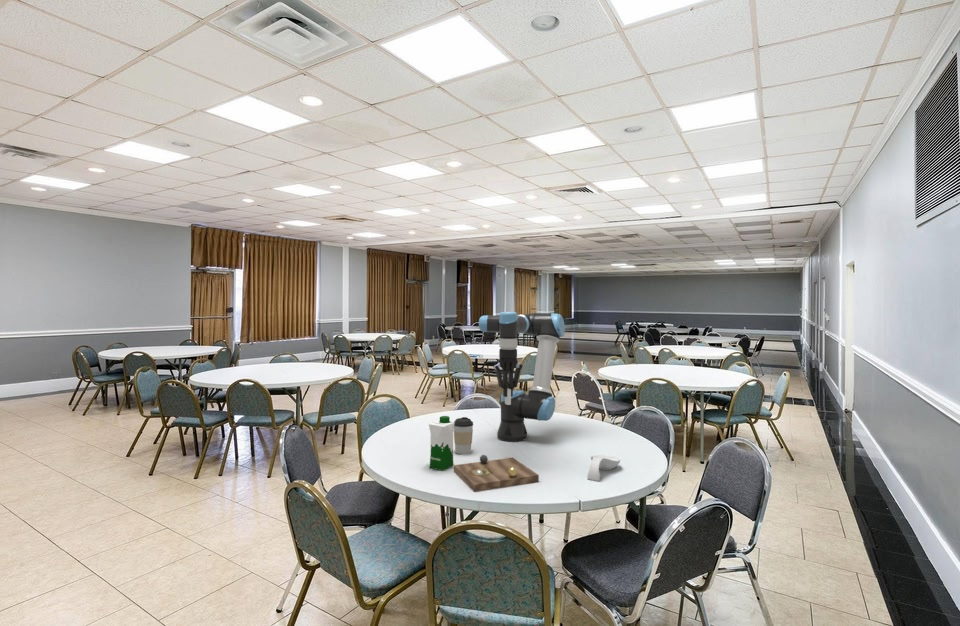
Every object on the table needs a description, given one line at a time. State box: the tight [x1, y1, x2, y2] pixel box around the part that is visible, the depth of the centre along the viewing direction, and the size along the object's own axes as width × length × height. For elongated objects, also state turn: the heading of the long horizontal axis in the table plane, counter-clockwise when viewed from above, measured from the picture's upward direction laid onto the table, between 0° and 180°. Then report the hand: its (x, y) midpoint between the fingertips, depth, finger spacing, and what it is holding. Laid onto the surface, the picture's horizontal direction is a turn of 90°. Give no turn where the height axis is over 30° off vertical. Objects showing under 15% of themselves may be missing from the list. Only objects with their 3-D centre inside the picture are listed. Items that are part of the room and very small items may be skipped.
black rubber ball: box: [479, 454, 489, 463], centre depth 193 cm, size 3×3×3 cm
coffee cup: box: [453, 416, 474, 455], centre depth 215 cm, size 9×9×15 cm
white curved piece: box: [587, 454, 621, 482], centre depth 191 cm, size 24×12×7 cm, turn 152°
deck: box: [453, 457, 540, 492], centre depth 185 cm, size 26×22×2 cm
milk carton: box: [428, 415, 455, 471], centre depth 195 cm, size 9×9×20 cm
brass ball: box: [508, 467, 517, 477], centre depth 178 cm, size 4×4×4 cm
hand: (507, 404), depth 202 cm, fingers closed
